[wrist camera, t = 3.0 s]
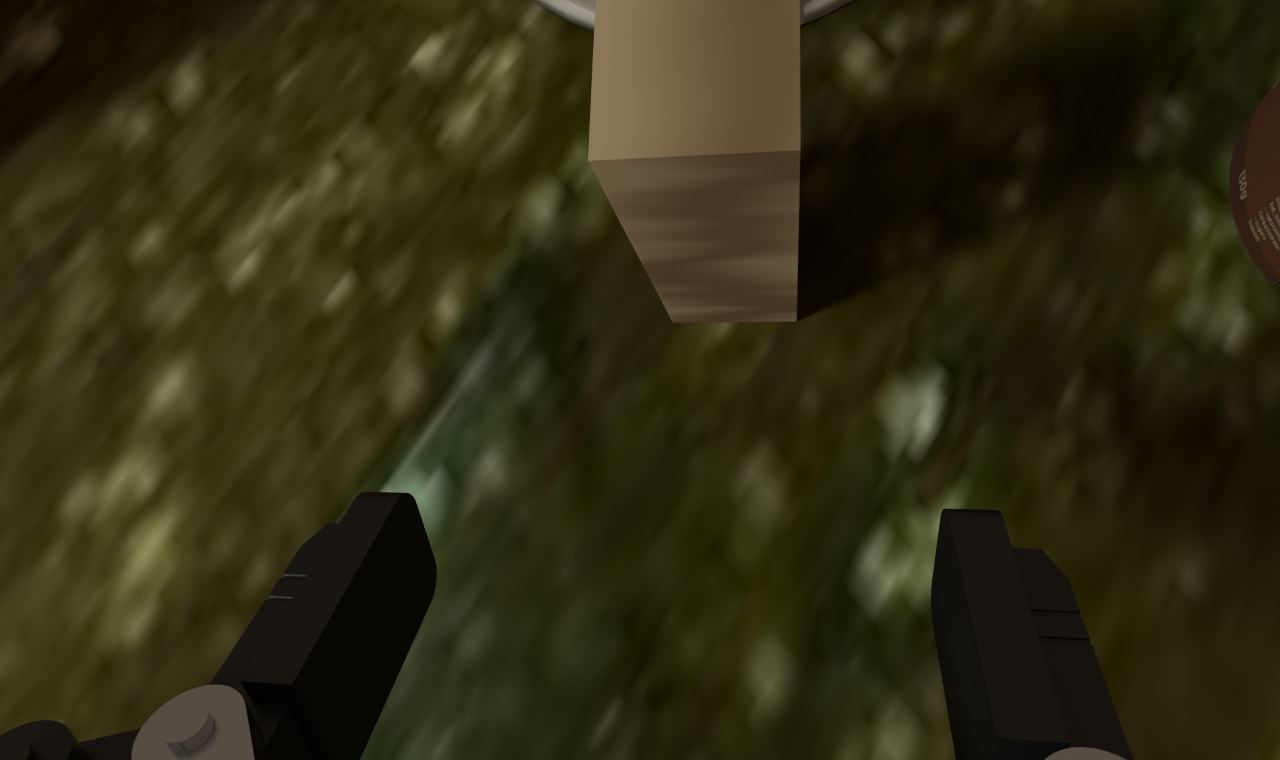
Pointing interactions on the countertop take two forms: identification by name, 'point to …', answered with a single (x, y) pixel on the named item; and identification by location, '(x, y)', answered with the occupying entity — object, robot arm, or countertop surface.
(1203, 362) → the countertop surface
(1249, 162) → the food container
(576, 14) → the round dish
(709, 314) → the oak block
